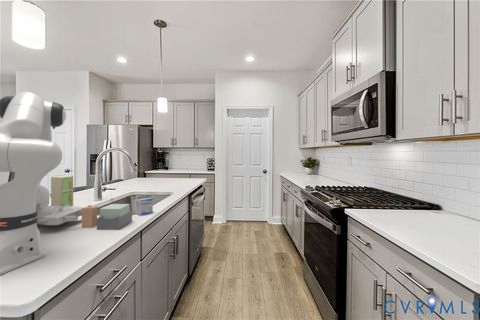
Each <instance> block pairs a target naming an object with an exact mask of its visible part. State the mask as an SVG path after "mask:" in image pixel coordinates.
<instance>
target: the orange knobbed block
mask: <svg viewBox="0 0 480 320" xmlns="http://www.w3.org/2000/svg"><path fill="white" fill-rule="evenodd" d="M83 207H84V208H82V215H81V228H82V229H85V228H87V229H90V228H94V227H97V218H98V206H97V205H92V204H89V205H86V206H83Z"/></svg>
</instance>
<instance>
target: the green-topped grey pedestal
mask: <svg viewBox="0 0 480 320" xmlns="http://www.w3.org/2000/svg"><path fill="white" fill-rule="evenodd" d="M130 205H131V203H111V204H109V205H106V206H103V207H100V209H99V216H98V217H97V225H96V230H108V231H109V230H110V231H111V230H112V231H113V230H114V231H115V230H116V231H117V230H121V229H122V228H124V227H125V226H127V225H128V224H130V223H131V222H133V211H132V210H131V207H130Z"/></svg>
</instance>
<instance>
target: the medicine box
mask: <svg viewBox="0 0 480 320" xmlns="http://www.w3.org/2000/svg"><path fill="white" fill-rule="evenodd" d="M153 200H154V198H152V197H147V198H146V197H145V198H138V199H135V214H136V215H137V216H140V217H141V216H145V215H150V214H153V205H154V201H153Z"/></svg>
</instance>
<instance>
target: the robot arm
mask: <svg viewBox="0 0 480 320" xmlns="http://www.w3.org/2000/svg"><path fill="white" fill-rule="evenodd" d="M66 112H67V111H66V109H65V108H64V106H63V104H60V103H58V102H54V101H53V102H52V101H47V100H43V98H42V97H41V96H39V95H38V94H36V93H35V92H30V91H22V92H18V93H17V94H15V95H11V96H10V95H9V96H8V95H7V96H4V97H2V98H0V118H1V120H0V173H9V174H8V179H7V182H4V183H3V184H0V276H1V275H4V274H6V273H9V272H11V271H13V270H15V269H17V268H20V267H22V266H24V265H27V264H29V263H32V262H33V261H36V260H39V259H40V258H42V257H45V255H46V252H45V251H44V250H43V249H42V248H43V246H42V239H41V232H40V230H39V228H38V225H41V226H59V225H62V224H64V223H66V222H73V221H74V222H75V221H77V220H78V219H79V217H82V208H84V207H85V206H75V205H73V206H68V205H61V206H51V205H49V204H50V192H49V190H48V189H47V188H46V187H45V186H43V185H40V184H41V182H42V181H43V179H45V177H46V176H47V175H48V174H49V173H50V172H52V171H53V170H55V169H56V168H58V166H60V164H61V162H62V160H63V151H62V149H61V147H60V145H59V144H57V143H56V142H55V141H53V138H52V137H53V136H52V129H53V130H55V129H56V128H58V127H61V126H62V125H64V123H65V121H66V118H67V113H66Z"/></svg>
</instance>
